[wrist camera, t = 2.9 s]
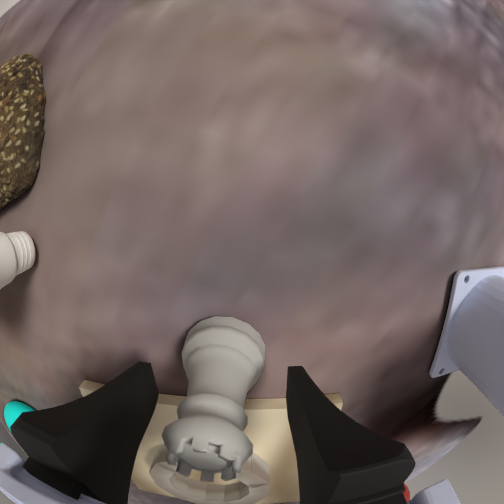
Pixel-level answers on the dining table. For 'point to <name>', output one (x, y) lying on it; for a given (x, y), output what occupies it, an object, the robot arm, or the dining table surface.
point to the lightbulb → (15, 255)
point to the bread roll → (20, 124)
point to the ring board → (256, 430)
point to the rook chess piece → (215, 399)
